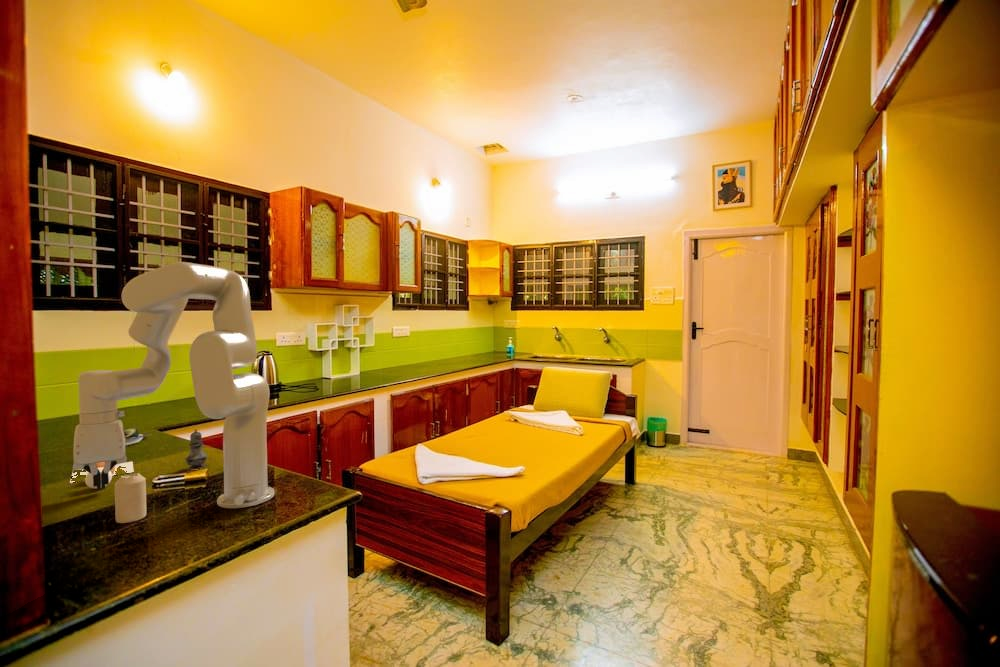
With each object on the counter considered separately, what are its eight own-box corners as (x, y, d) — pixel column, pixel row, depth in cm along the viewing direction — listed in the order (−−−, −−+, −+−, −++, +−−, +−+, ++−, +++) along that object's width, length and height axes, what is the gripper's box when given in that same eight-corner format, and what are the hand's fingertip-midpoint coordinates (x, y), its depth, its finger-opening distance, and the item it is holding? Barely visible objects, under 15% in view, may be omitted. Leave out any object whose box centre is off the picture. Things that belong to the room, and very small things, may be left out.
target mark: (133, 472, 137) (133, 472, 137) (69, 483, 128) (69, 482, 128) (132, 461, 148) (132, 461, 148) (73, 471, 139) (73, 470, 139)
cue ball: (106, 460, 127) (108, 477, 129) (80, 469, 123) (83, 486, 124) (114, 469, 124) (116, 486, 126) (88, 478, 120) (91, 496, 122)
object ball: (111, 466, 129) (111, 453, 133) (86, 473, 126) (86, 460, 130) (117, 479, 132) (117, 466, 136) (92, 487, 129) (93, 473, 133)
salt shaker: (196, 471, 137) (195, 431, 137) (180, 470, 139) (179, 431, 138) (212, 465, 143) (211, 427, 143) (196, 464, 144) (195, 426, 144)
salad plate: (138, 449, 165) (138, 436, 165) (73, 455, 157) (73, 442, 157) (151, 437, 182) (151, 425, 182) (93, 442, 174) (93, 430, 174)
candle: (142, 511, 109) (141, 469, 109) (149, 517, 105) (148, 474, 105) (112, 519, 105) (111, 475, 104) (119, 525, 101) (117, 480, 101)
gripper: (135, 412, 127) (137, 478, 128) (60, 419, 118) (63, 491, 118) (136, 416, 122) (138, 485, 122) (57, 424, 112) (60, 499, 112)
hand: (101, 487), depth 120 cm, fingers closed
